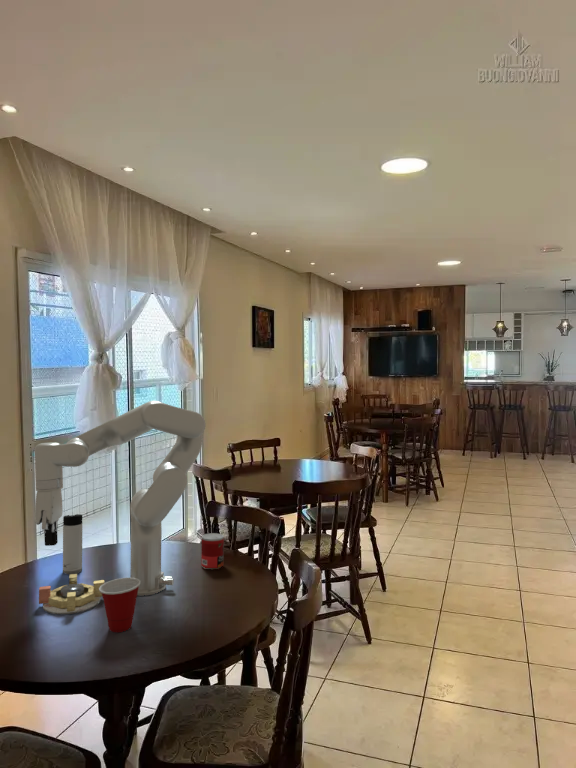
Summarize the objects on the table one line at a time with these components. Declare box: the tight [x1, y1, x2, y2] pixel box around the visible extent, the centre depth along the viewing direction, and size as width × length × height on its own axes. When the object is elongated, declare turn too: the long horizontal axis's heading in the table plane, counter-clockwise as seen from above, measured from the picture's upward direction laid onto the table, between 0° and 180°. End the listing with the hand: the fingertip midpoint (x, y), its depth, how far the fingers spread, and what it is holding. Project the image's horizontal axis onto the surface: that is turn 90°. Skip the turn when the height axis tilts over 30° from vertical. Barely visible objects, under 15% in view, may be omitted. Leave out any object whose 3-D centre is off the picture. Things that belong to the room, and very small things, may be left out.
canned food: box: [200, 532, 225, 568], centre depth 194 cm, size 8×8×11 cm
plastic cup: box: [99, 577, 141, 633], centre depth 146 cm, size 11×11×12 cm
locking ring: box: [38, 573, 105, 611], centre depth 161 cm, size 14×14×4 cm
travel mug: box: [62, 513, 83, 575], centre depth 187 cm, size 6×7×20 cm
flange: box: [42, 583, 102, 616], centre depth 161 cm, size 16×16×4 cm
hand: (51, 544), depth 163 cm, fingers closed
